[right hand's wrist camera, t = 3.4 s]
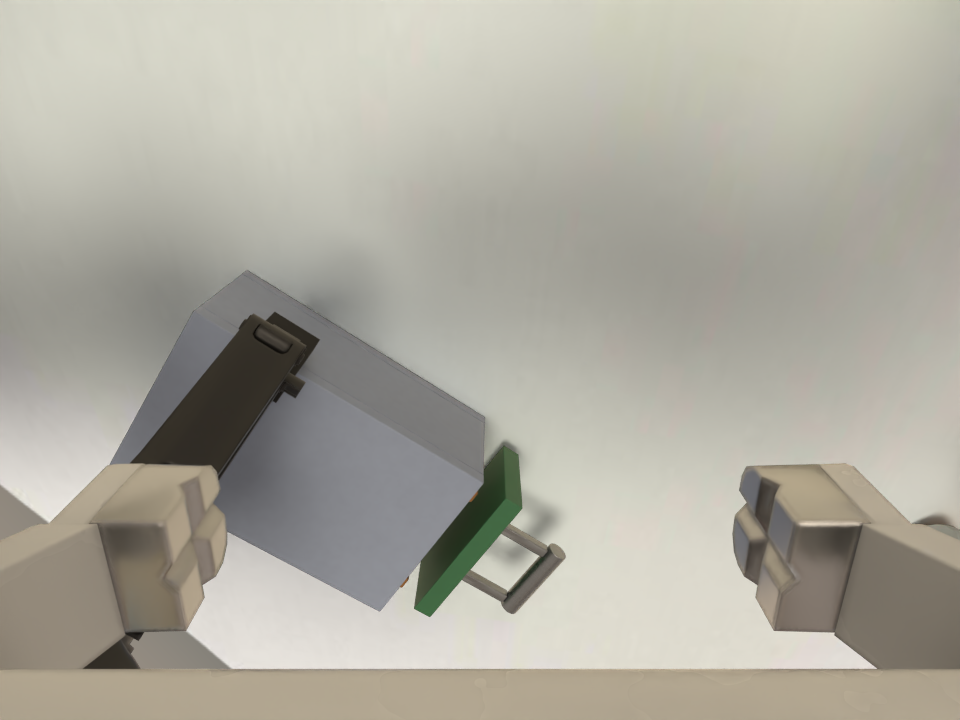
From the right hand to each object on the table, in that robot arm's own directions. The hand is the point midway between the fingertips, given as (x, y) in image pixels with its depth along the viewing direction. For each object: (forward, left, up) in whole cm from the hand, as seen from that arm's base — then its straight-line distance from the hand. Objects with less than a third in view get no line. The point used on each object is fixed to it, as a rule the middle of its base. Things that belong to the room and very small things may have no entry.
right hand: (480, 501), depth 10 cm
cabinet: (+7, +16, -30) cm, 35 cm away
